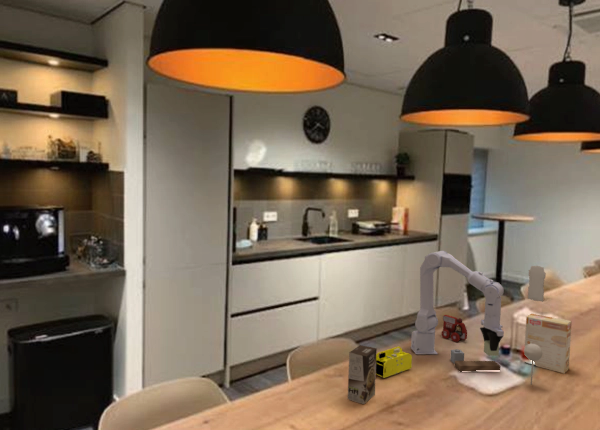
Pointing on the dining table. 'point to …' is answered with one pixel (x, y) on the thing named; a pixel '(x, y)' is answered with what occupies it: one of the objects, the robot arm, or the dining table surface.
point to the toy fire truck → (453, 328)
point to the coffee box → (362, 374)
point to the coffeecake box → (550, 341)
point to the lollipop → (533, 354)
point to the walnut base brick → (476, 365)
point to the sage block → (488, 351)
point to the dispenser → (536, 283)
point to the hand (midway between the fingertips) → (490, 348)
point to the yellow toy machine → (392, 362)
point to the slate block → (456, 355)
